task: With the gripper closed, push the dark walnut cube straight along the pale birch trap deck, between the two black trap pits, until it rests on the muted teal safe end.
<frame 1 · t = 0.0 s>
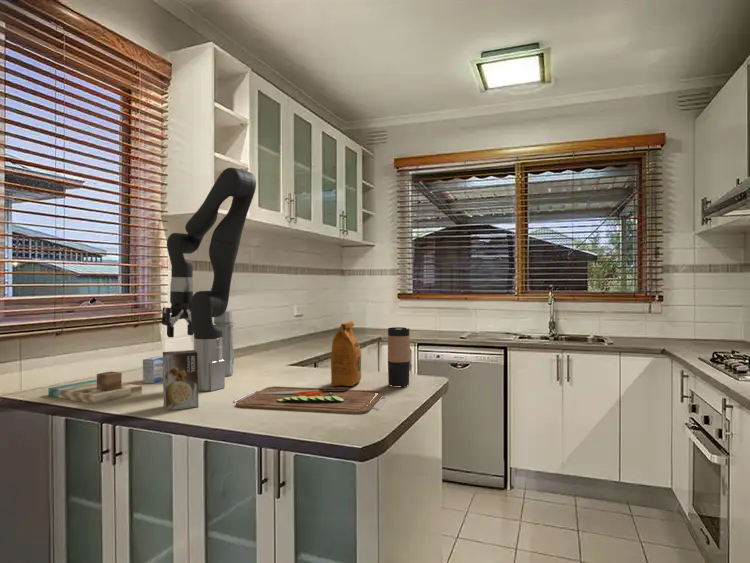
hand: (180, 336, 180), 17 cm above the countertop, tool pointing down, fingers open, 8 cm apart
travel mug: (398, 386, 179), on the countertop
coffee box: (180, 407, 149), on the countertop
chopping board: (312, 402, 157), on the countertop
trap deck: (95, 394, 165), on the countertop
medicine box: (154, 381, 187), on the countertop
water bottle: (225, 376, 198), on the countertop
coffee package: (346, 385, 181), on the countertop
walnut block: (109, 389, 162), point 2 cm above the countertop, touching trap deck
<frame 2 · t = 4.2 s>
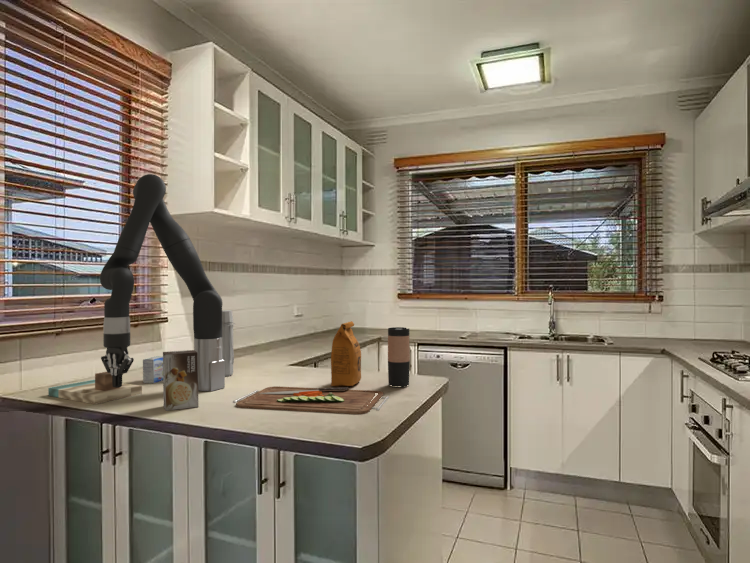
hand: (117, 387, 160), 4 cm above the countertop, tool pointing down, fingers closed
walnut block: (107, 388, 162), point 3 cm above the countertop, touching gripper
everything else where it was.
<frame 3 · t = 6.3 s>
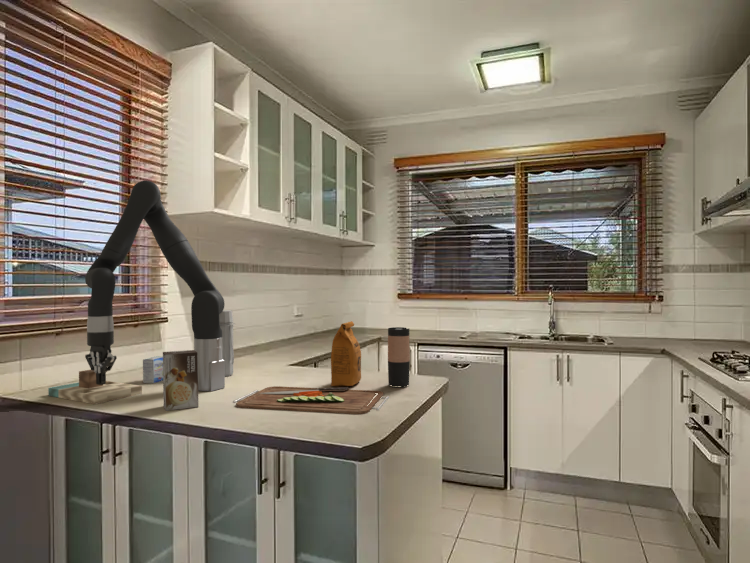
hand: (100, 384, 164), 4 cm above the countertop, tool pointing down, fingers closed
walnut block: (91, 386, 166), point 3 cm above the countertop, touching gripper
everything else where it was.
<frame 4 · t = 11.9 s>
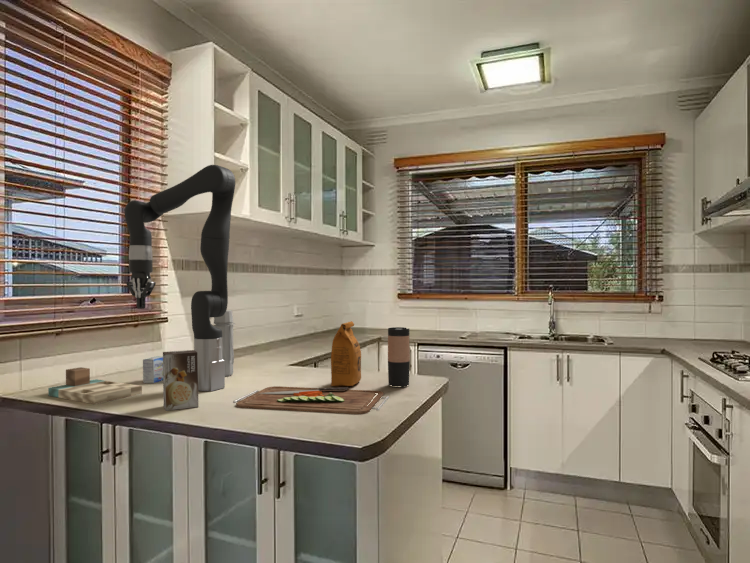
hand: (140, 308, 179), 27 cm above the countertop, tool pointing down, fingers closed
walnut block: (77, 384, 170), point 2 cm above the countertop, touching trap deck
everything else where it was.
at the end: walnut block 0.4 cm from the target spot on the trap deck, point 2.5 cm above the trap deck's base; walnut block tilted 0° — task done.
